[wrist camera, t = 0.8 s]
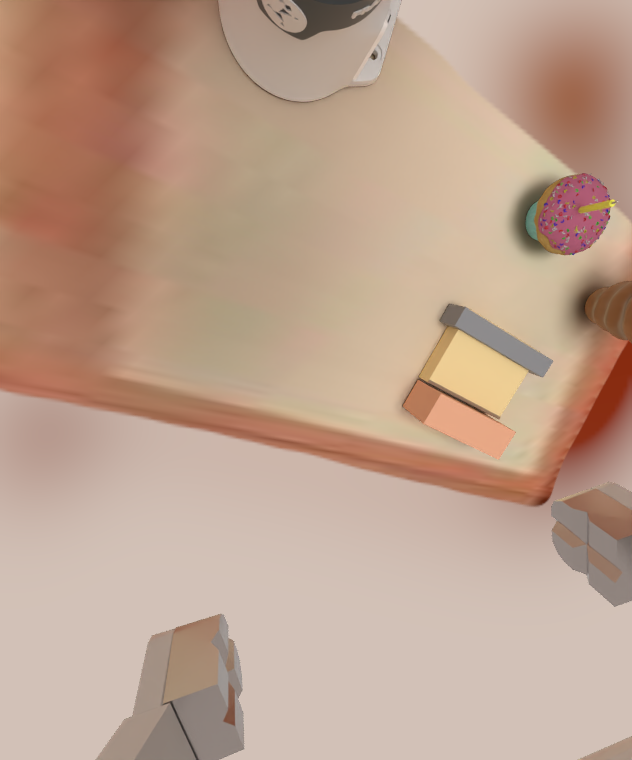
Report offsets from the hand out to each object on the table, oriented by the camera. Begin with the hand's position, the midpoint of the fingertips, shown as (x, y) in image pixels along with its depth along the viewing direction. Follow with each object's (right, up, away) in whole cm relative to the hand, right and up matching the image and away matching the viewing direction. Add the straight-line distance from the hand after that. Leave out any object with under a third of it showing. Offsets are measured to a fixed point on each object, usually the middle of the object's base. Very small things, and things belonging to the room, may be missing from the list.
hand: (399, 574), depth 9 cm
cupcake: (+26, +24, +40) cm, 54 cm away
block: (+15, 0, +45) cm, 47 cm away
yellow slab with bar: (+19, +7, +44) cm, 48 cm away
